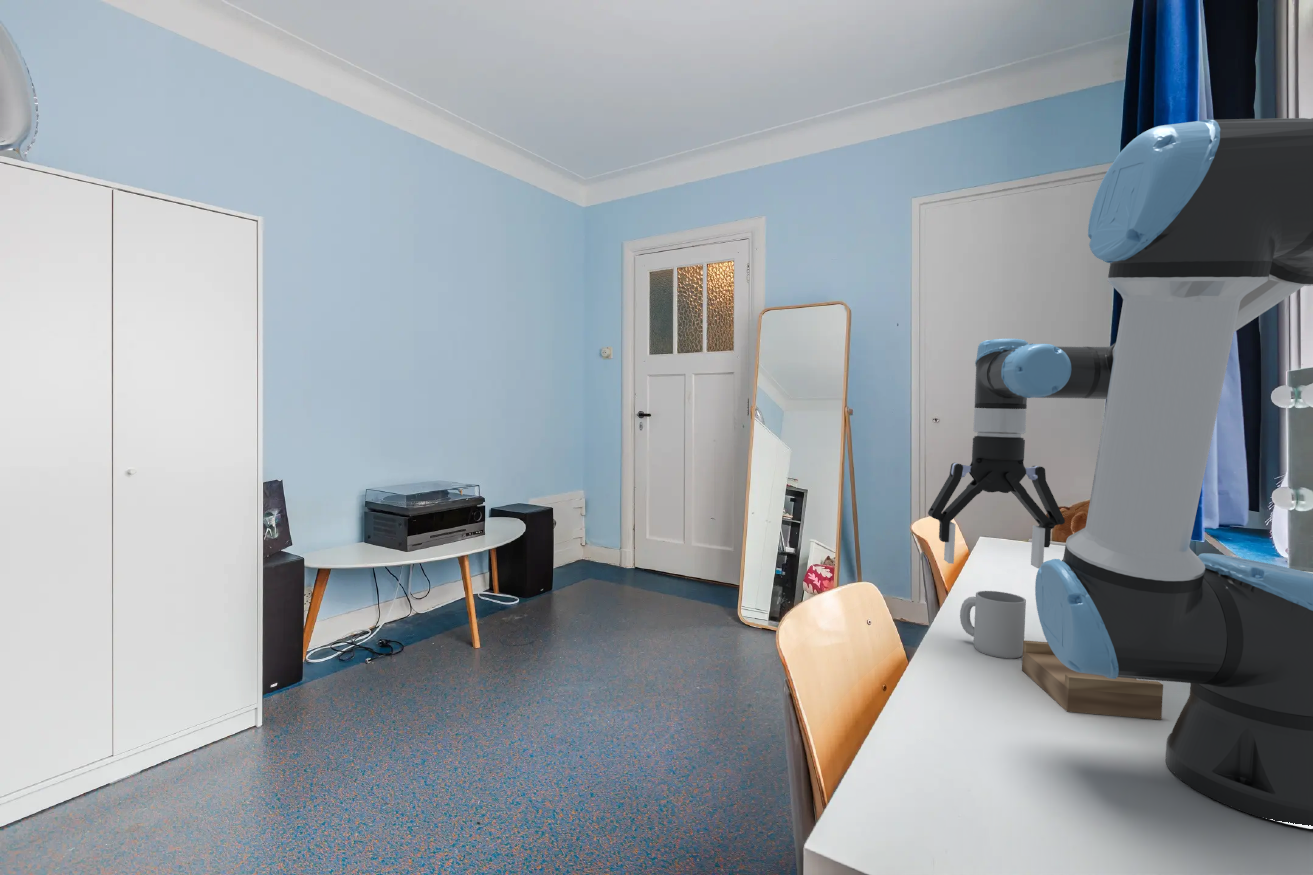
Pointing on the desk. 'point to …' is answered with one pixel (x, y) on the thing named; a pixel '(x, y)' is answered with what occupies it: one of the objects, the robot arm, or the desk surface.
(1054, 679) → the wooden tray
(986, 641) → the cup
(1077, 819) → the desk surface
